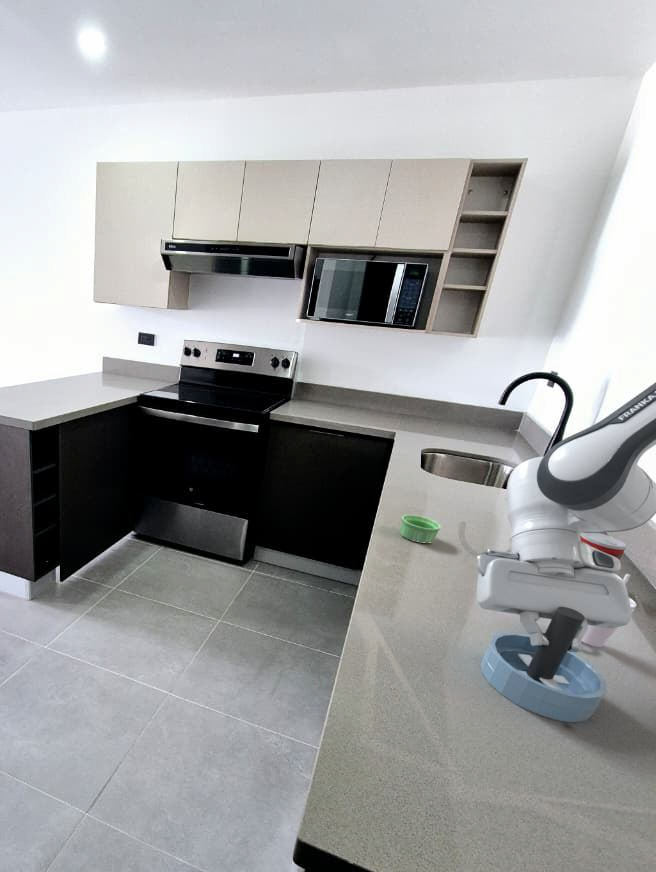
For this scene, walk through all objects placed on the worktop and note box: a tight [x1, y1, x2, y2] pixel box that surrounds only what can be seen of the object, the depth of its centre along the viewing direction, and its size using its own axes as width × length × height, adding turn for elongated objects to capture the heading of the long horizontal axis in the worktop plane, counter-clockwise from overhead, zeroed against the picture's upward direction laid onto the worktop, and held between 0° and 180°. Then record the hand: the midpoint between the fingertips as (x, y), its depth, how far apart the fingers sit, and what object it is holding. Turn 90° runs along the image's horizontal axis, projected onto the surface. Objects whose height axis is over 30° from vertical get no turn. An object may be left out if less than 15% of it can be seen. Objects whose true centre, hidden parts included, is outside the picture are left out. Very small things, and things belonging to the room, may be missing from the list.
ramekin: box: [399, 514, 442, 543], centre depth 125 cm, size 9×9×4 cm
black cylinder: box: [518, 607, 585, 691], centre depth 72 cm, size 8×8×13 cm
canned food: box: [580, 532, 627, 561], centre depth 111 cm, size 8×8×11 cm
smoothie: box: [581, 573, 637, 648], centre depth 86 cm, size 6×6×14 cm
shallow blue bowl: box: [479, 632, 608, 723], centre depth 74 cm, size 14×14×5 cm
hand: (556, 648), depth 71 cm, fingers closed on black cylinder, 3 cm apart
